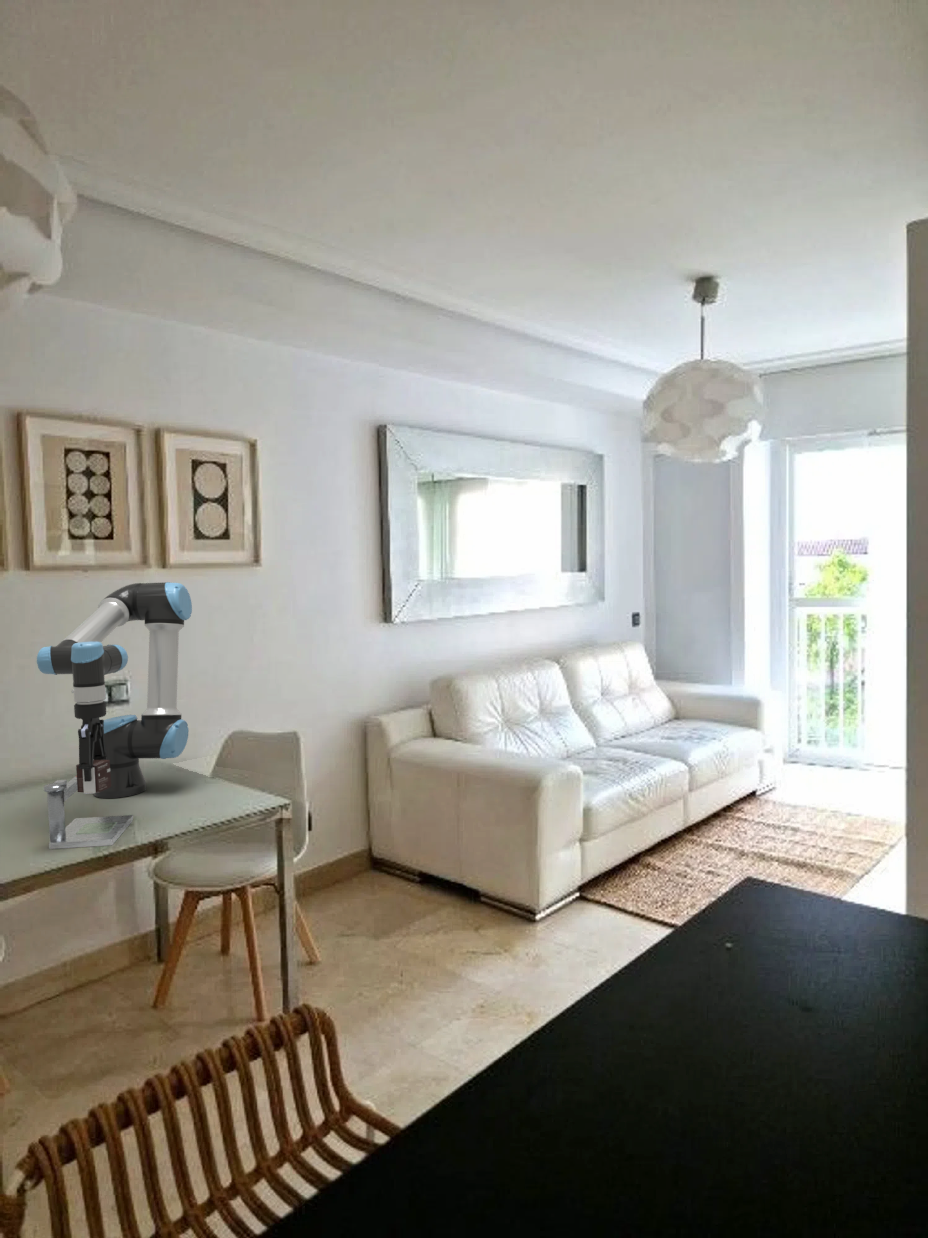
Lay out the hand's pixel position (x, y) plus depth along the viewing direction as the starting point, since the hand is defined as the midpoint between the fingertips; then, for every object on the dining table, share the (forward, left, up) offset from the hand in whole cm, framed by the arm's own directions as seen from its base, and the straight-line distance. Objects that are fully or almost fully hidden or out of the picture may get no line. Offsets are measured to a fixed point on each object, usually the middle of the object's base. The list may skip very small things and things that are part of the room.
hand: (94, 788), depth 220 cm
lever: (-1, -7, -2) cm, 7 cm away
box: (0, 0, 0) cm, 0 cm away
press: (0, -1, -12) cm, 12 cm away
